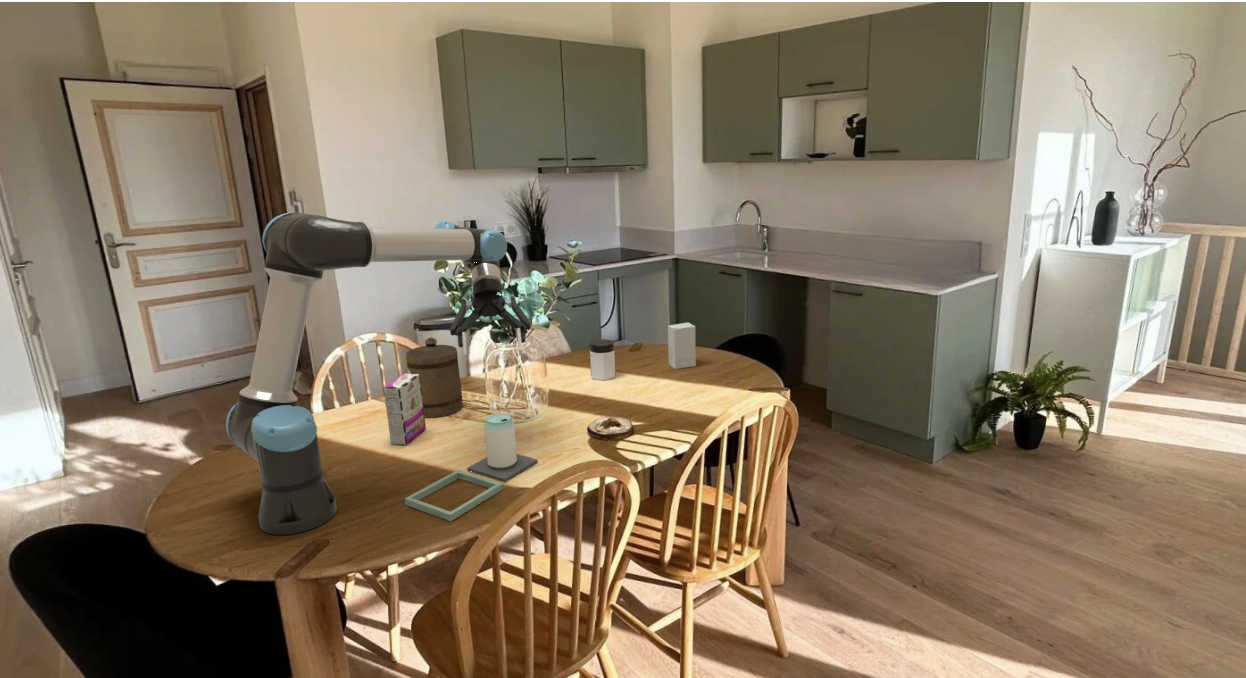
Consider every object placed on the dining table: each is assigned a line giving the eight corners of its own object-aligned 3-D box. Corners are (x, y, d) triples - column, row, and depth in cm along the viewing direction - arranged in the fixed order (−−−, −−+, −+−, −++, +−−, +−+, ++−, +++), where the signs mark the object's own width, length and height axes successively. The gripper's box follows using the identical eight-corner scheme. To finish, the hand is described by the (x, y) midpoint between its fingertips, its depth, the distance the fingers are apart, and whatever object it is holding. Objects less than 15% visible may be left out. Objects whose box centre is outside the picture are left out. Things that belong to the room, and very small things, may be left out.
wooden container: (421, 400, 215) (413, 332, 209) (468, 399, 215) (462, 331, 209) (405, 418, 201) (396, 345, 195) (455, 417, 201) (448, 345, 195)
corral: (450, 521, 144) (450, 515, 144) (405, 504, 152) (404, 498, 151) (502, 489, 157) (502, 483, 157) (458, 475, 165) (457, 470, 164)
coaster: (504, 482, 161) (504, 479, 161) (467, 470, 167) (467, 467, 167) (537, 462, 171) (537, 459, 170) (501, 452, 177) (500, 449, 177)
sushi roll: (571, 436, 186) (571, 422, 185) (603, 418, 198) (603, 405, 197) (616, 448, 178) (616, 433, 177) (647, 429, 190) (647, 415, 189)
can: (516, 456, 172) (513, 411, 169) (517, 468, 166) (514, 422, 163) (488, 458, 171) (484, 413, 168) (487, 471, 165) (483, 424, 161)
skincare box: (688, 362, 247) (688, 321, 243) (696, 366, 242) (696, 325, 238) (667, 365, 244) (667, 324, 240) (674, 369, 239) (674, 328, 235)
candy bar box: (410, 428, 194) (403, 372, 189) (426, 429, 193) (420, 373, 188) (389, 444, 183) (382, 386, 179) (406, 446, 182) (399, 387, 178)
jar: (606, 370, 239) (605, 337, 236) (620, 376, 233) (619, 342, 230) (585, 376, 234) (583, 342, 231) (599, 382, 228) (597, 347, 225)
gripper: (533, 290, 188) (542, 358, 178) (439, 295, 183) (443, 366, 173) (534, 274, 182) (544, 343, 171) (437, 279, 176) (440, 351, 166)
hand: (493, 355), depth 172 cm, fingers open, 13 cm apart
